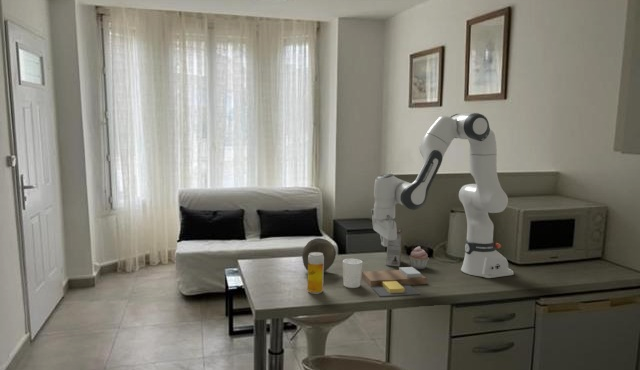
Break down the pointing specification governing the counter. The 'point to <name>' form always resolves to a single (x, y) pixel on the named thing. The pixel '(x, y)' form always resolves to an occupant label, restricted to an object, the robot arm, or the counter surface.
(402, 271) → the grey flat block
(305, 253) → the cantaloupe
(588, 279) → the counter surface
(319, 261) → the pill bottle
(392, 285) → the card mustard
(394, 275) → the brown wooden flat block
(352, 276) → the white cup
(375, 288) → the mat
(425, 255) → the cupcake
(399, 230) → the coffee box
